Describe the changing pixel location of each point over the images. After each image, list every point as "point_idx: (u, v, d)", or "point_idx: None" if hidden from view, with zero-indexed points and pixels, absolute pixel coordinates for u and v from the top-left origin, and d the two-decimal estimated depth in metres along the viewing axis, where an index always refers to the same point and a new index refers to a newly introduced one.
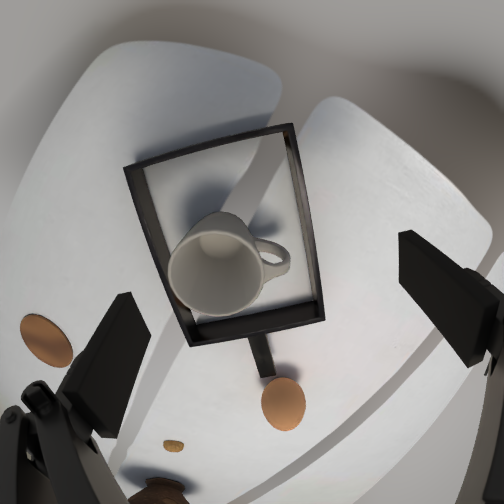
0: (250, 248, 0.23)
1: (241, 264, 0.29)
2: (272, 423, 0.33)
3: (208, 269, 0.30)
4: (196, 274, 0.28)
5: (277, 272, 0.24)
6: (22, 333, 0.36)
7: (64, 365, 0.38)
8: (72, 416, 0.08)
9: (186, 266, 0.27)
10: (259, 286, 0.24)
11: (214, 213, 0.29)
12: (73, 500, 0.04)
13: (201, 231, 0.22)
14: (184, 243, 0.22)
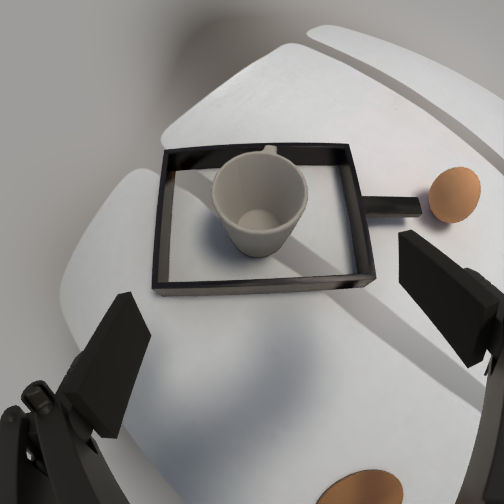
0: (237, 157, 0.24)
1: (279, 204, 0.29)
2: (471, 194, 0.25)
3: None
4: None
5: (270, 148, 0.26)
6: None
7: (400, 490, 0.21)
8: (72, 416, 0.08)
9: None
10: (277, 157, 0.24)
11: None
12: (73, 500, 0.04)
13: (211, 192, 0.23)
14: (218, 208, 0.23)
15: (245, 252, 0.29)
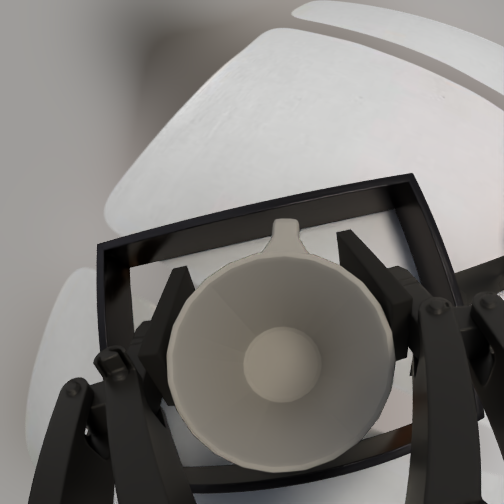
0: (213, 279, 0.10)
1: (316, 325, 0.15)
2: None
3: (327, 387, 0.14)
4: (322, 410, 0.12)
5: (287, 231, 0.12)
6: None
7: None
8: (146, 385, 0.09)
9: (295, 429, 0.11)
10: (310, 261, 0.10)
11: None
12: (132, 477, 0.05)
13: (168, 380, 0.09)
14: (190, 422, 0.09)
15: None
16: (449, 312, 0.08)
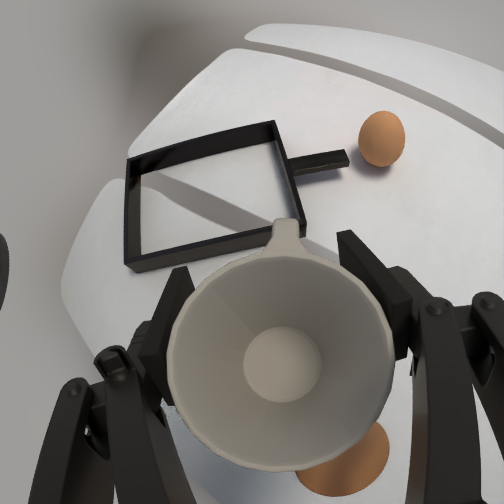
0: (213, 279, 0.10)
1: (316, 325, 0.15)
2: (390, 132, 0.29)
3: (327, 387, 0.14)
4: (322, 410, 0.12)
5: (287, 231, 0.12)
6: (327, 493, 0.23)
7: (383, 435, 0.25)
8: (146, 385, 0.09)
9: (295, 429, 0.11)
10: (310, 260, 0.10)
11: None
12: (133, 477, 0.05)
13: (168, 380, 0.09)
14: (190, 421, 0.09)
15: None
16: (449, 312, 0.08)
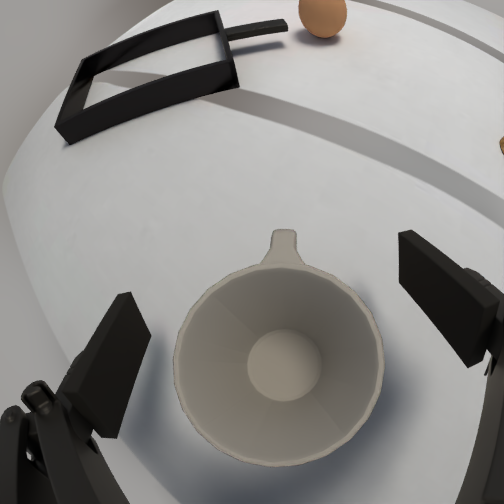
0: (215, 289, 0.11)
1: (315, 328, 0.15)
2: None
3: (325, 387, 0.14)
4: (319, 409, 0.12)
5: (284, 242, 0.12)
6: None
7: None
8: (72, 416, 0.08)
9: (293, 427, 0.12)
10: (305, 271, 0.11)
11: None
12: (73, 500, 0.04)
13: (174, 382, 0.10)
14: (195, 420, 0.09)
15: None
16: None
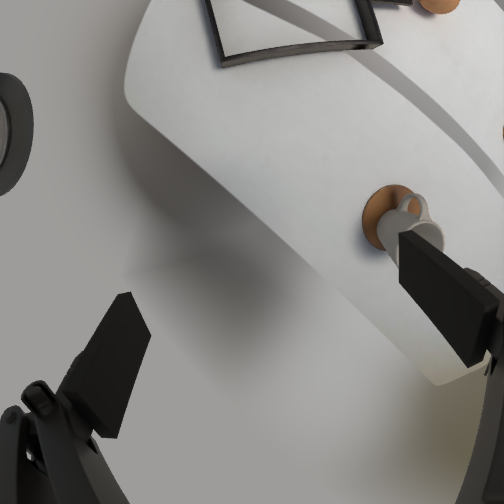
0: (410, 229, 0.32)
1: None
2: None
3: None
4: None
5: (426, 209, 0.32)
6: (382, 247, 0.42)
7: (419, 206, 0.40)
8: (72, 416, 0.08)
9: None
10: (432, 223, 0.32)
11: (378, 232, 0.40)
12: (73, 500, 0.04)
13: (395, 256, 0.33)
14: None
15: None
16: None
